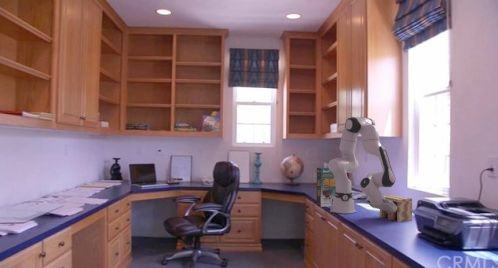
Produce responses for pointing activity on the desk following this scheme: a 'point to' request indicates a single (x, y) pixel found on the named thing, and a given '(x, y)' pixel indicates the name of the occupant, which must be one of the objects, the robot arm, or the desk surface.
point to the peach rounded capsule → (392, 216)
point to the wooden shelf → (400, 208)
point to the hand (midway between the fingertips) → (388, 212)
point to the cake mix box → (325, 187)
